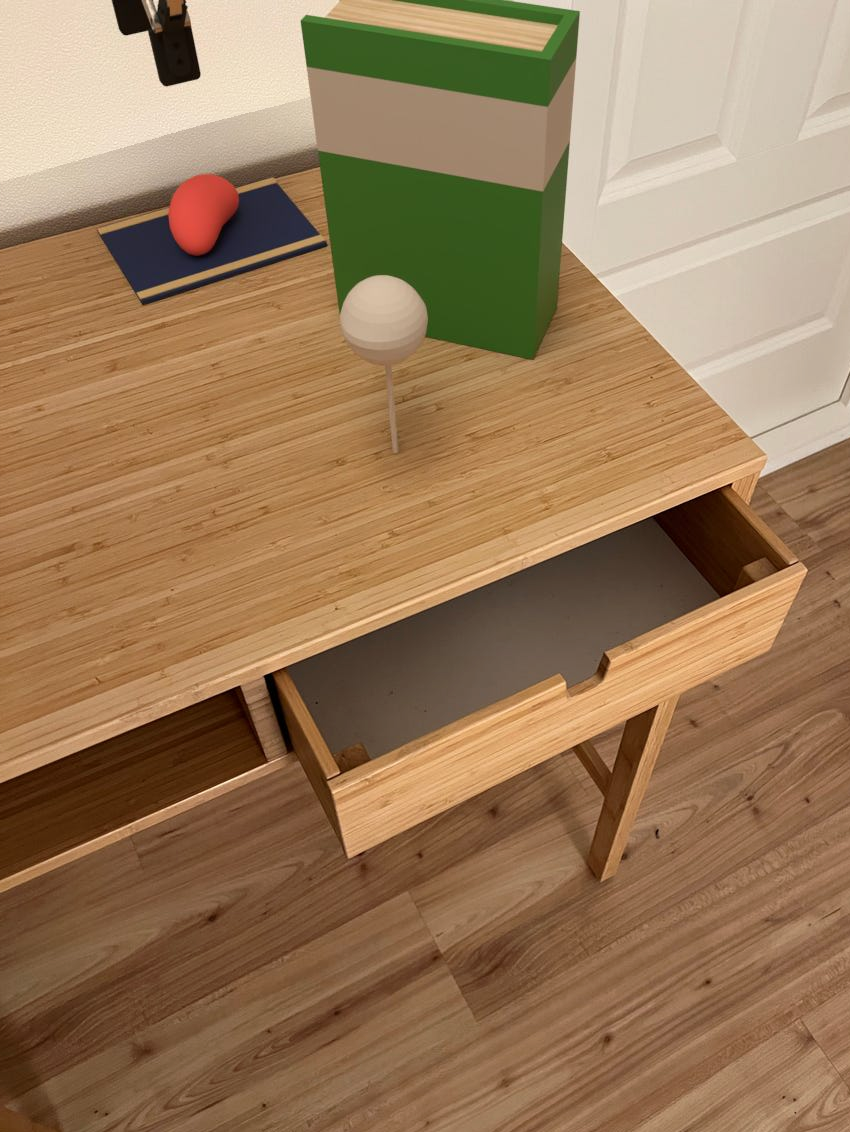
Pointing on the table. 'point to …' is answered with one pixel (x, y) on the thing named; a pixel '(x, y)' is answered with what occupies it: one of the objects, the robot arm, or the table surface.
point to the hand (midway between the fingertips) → (159, 55)
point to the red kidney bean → (201, 212)
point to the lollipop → (384, 327)
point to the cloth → (243, 244)
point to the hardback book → (448, 156)
